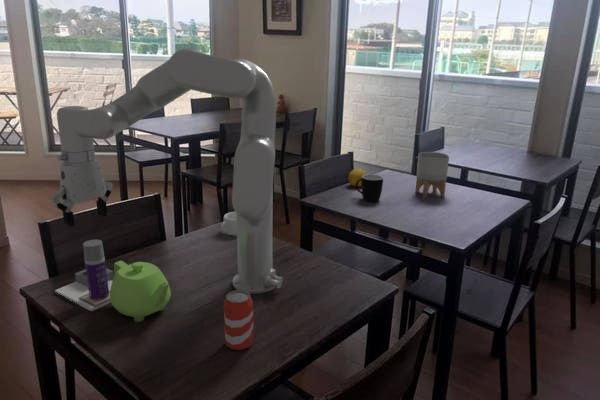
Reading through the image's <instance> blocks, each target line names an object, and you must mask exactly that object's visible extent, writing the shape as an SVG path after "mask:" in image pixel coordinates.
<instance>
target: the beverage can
mask: <svg viewBox="0 0 600 400" xmlns="http://www.w3.org/2000/svg"><path fill="white" fill-rule="evenodd" d="M223 315H224V316H223V319H224V321H223V323H224V337H225V338H224V341H225V346H226V347H228V348H230V349H231V350H235V351H236V350H237V351H242V350H245V349H247V348H250V347H251V346H252V344H253V343H254V340H255V338H254V335H255V334H254V301H253V299H252V297H251V294H249V293H248V292H246V291H244V290H237V289H235V290H233V291H229V292H228V293H227V294H226V295H225V299H224V300H223Z"/></svg>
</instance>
